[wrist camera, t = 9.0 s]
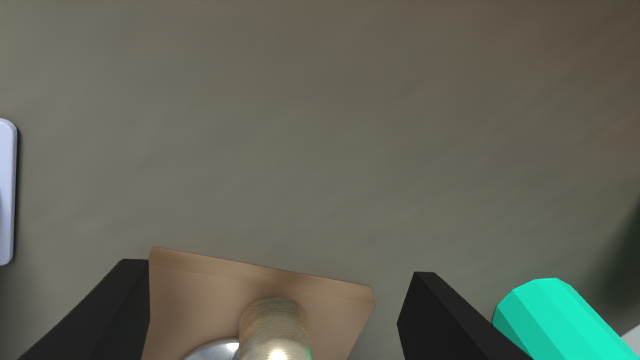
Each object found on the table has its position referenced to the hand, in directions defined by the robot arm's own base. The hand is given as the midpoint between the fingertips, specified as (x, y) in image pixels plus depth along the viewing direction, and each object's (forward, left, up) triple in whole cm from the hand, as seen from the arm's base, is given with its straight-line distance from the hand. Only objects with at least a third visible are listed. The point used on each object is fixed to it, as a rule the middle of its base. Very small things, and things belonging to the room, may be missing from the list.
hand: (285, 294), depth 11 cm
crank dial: (+2, -13, -9) cm, 16 cm away
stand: (+2, -14, -10) cm, 18 cm away
